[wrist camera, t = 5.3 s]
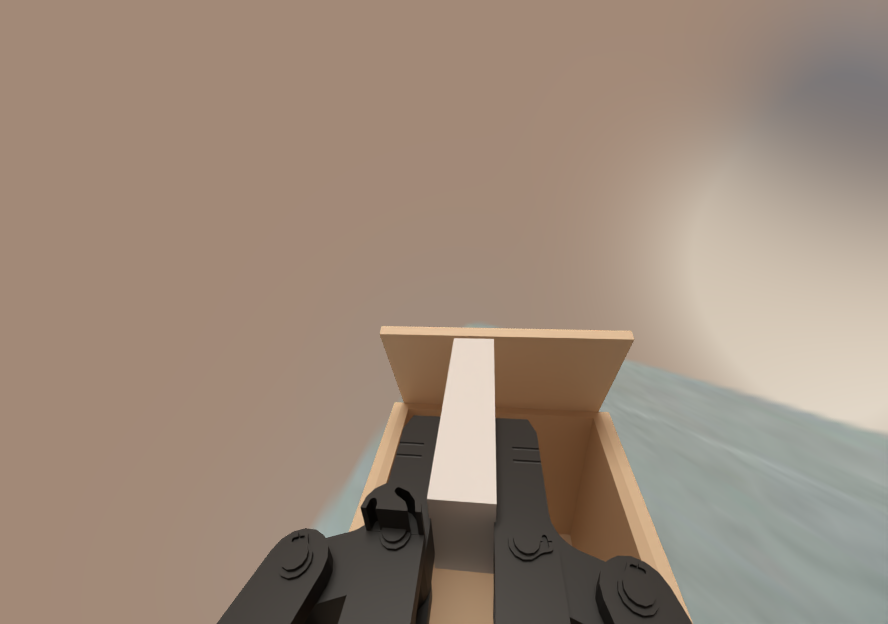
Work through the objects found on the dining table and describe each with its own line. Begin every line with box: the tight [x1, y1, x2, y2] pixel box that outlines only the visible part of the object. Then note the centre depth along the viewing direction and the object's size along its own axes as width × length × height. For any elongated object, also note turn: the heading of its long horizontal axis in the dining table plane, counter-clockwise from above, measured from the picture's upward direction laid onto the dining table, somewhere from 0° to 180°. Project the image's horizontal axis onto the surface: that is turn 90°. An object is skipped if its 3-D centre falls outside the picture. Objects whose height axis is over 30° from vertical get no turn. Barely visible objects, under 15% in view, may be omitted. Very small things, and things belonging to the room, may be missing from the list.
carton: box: [349, 402, 693, 624], centre depth 17 cm, size 16×13×12 cm
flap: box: [380, 326, 634, 412], centre depth 19 cm, size 7×12×1 cm
